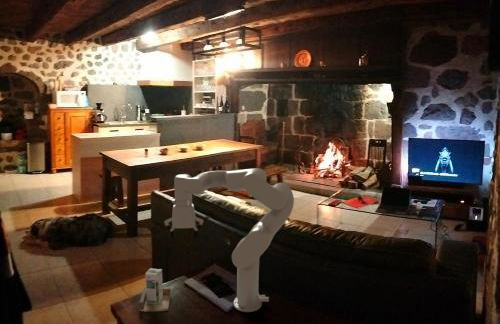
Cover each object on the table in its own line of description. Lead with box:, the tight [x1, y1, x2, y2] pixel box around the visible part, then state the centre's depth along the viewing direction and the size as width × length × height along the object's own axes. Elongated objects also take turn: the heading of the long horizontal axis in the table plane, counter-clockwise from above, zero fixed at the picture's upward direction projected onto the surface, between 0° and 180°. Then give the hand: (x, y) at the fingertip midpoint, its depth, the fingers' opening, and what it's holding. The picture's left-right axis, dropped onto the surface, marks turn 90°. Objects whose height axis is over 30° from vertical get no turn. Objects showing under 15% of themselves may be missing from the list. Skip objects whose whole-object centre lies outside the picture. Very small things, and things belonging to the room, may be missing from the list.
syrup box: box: [145, 267, 163, 305], centre depth 180 cm, size 6×6×14 cm
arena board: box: [139, 286, 171, 313], centre depth 181 cm, size 12×12×4 cm
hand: (184, 238), depth 182 cm, fingers open, 9 cm apart
